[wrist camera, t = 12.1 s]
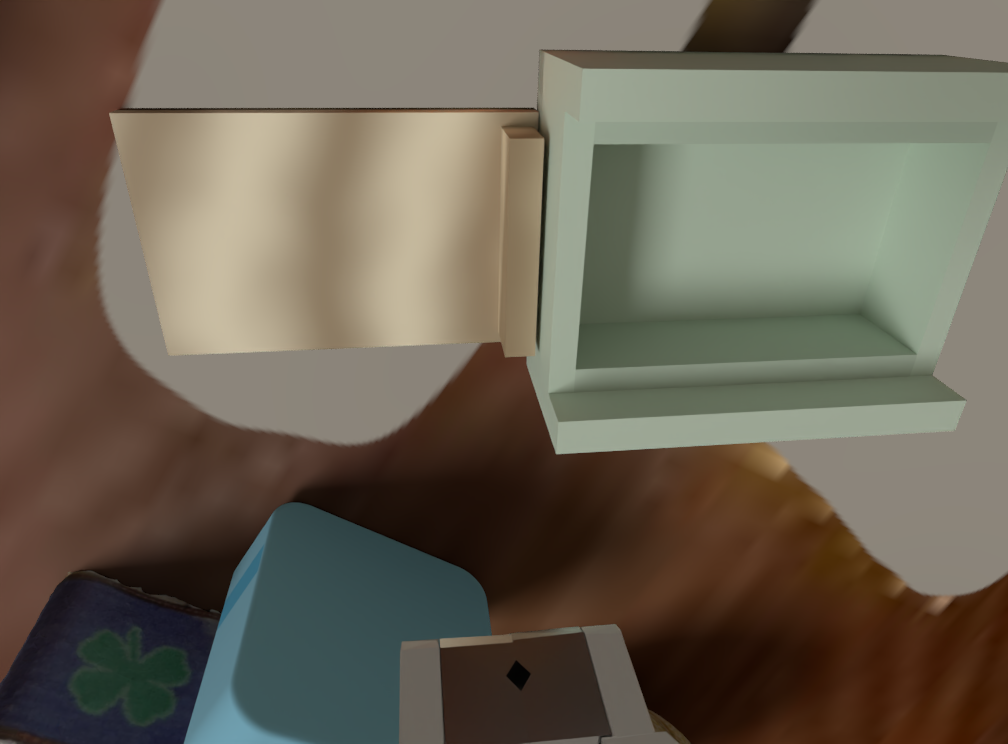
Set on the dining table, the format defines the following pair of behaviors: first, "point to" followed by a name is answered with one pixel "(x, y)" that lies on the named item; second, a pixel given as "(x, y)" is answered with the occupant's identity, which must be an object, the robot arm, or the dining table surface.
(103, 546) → the dining table surface
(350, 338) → the cover plate
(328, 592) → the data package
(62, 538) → the dining table surface
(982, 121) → the box
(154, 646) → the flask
